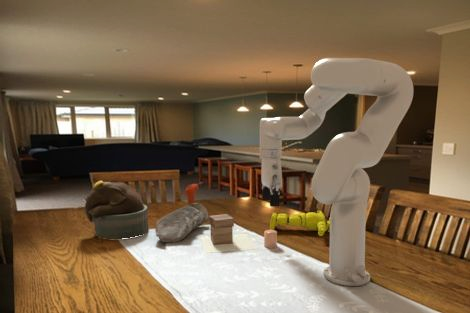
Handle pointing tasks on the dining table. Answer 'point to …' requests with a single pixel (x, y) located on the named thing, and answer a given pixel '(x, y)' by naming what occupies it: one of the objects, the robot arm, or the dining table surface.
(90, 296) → the dining table surface
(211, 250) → the board
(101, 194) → the brown blob in bowl
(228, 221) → the slab top
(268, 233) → the cylinder
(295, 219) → the toy
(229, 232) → the slab mid
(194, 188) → the toy drill
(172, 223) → the decorative stone
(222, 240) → the slab bottom
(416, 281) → the dining table surface
